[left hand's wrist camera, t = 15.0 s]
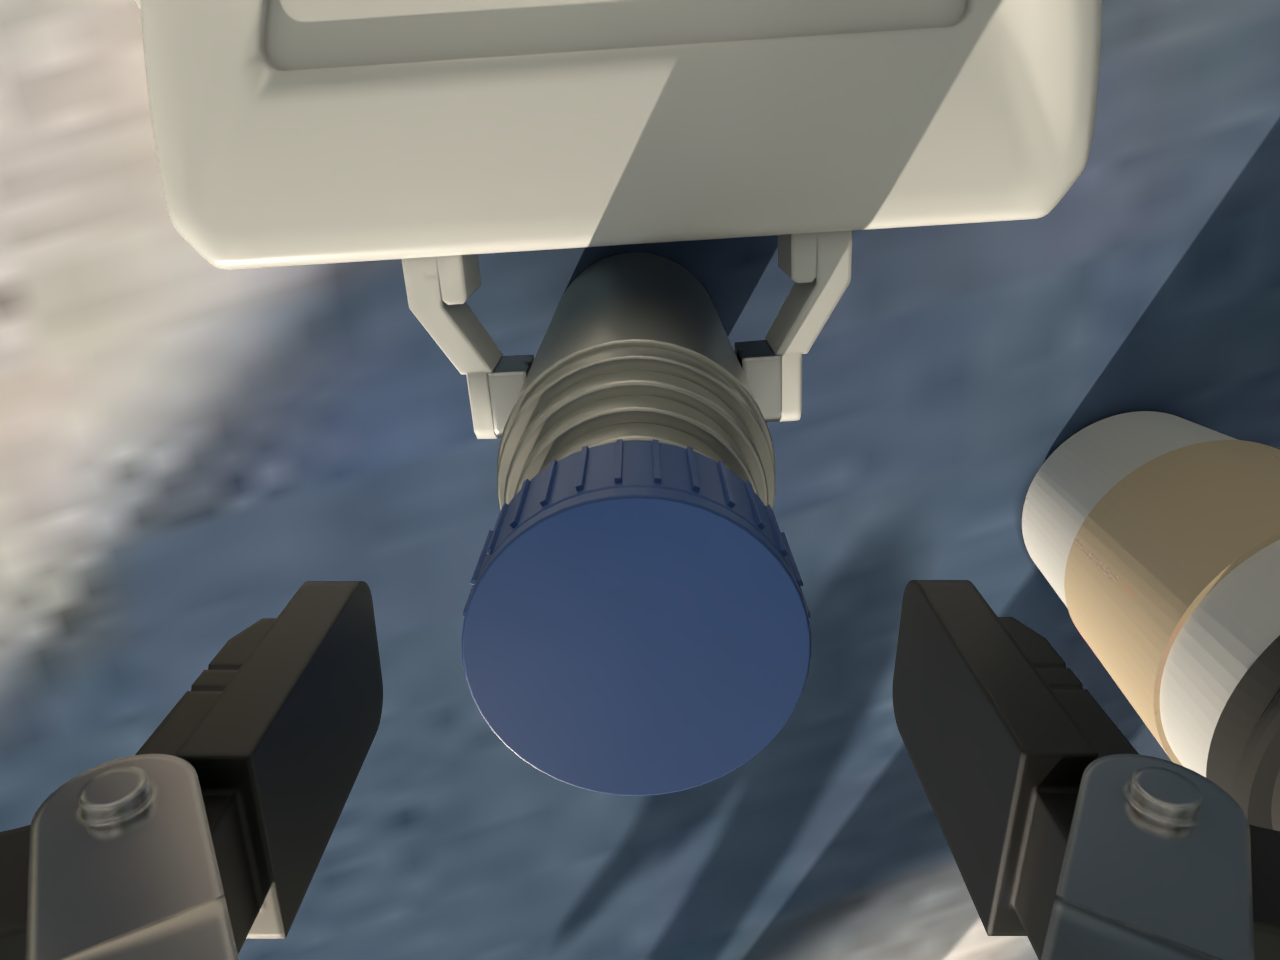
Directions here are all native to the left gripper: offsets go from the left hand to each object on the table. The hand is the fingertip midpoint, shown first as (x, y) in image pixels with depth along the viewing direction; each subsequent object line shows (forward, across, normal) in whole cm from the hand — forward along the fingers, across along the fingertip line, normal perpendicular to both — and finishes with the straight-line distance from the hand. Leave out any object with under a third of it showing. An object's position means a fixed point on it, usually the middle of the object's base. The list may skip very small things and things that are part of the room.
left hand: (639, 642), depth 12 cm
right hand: (+12, 0, -1) cm, 12 cm away
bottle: (+18, 0, 0) cm, 18 cm away
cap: (0, 0, 0) cm, 0 cm away
